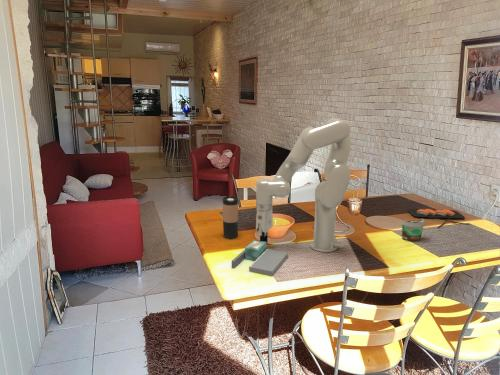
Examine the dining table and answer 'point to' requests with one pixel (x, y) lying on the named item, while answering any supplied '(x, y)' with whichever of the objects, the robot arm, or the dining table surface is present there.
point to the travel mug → (230, 217)
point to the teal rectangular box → (255, 249)
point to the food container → (412, 230)
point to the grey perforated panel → (264, 261)
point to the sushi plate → (437, 214)
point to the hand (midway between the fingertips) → (263, 243)
